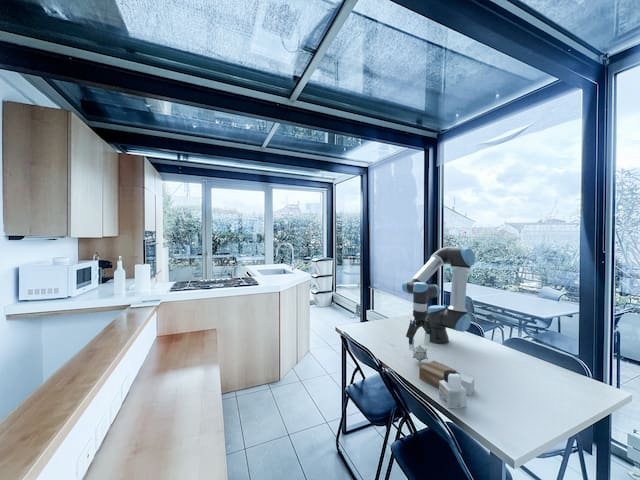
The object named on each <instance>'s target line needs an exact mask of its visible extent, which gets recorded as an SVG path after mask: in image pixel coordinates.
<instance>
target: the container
mask: <svg viewBox="0 0 640 480" xmlns="http://www.w3.org/2000/svg"><path fill="white" fill-rule="evenodd" d="M460 374H461V373H460V372H458V371H457V370H456V371H453V370H446V371H445V372H444V380H441V381H439V389H438V397H439V399H440V400H441V401H442V402H443V404H445V406H446V407H447V409H463V408H462V407H466V408H467V395H466V389H465V388H464V387H463V386H462V385H461V375H460Z"/></svg>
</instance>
